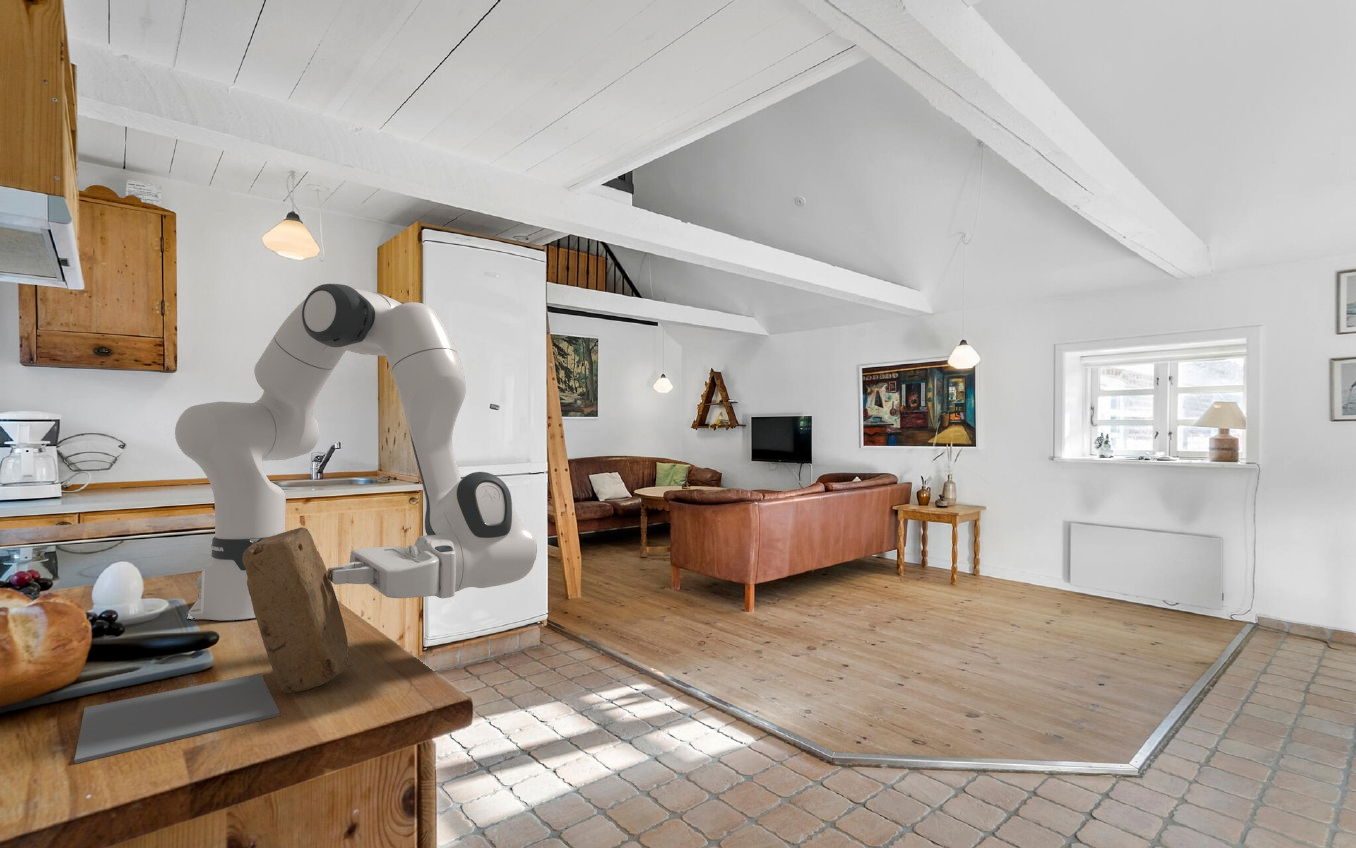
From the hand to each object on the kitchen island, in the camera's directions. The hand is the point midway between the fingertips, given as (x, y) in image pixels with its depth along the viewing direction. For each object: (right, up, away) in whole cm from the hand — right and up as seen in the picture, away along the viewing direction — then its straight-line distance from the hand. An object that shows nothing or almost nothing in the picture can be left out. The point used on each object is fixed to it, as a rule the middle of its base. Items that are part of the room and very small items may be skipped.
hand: (330, 576), depth 88 cm
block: (-1, -14, -1) cm, 14 cm away
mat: (-12, -14, -10) cm, 21 cm away
